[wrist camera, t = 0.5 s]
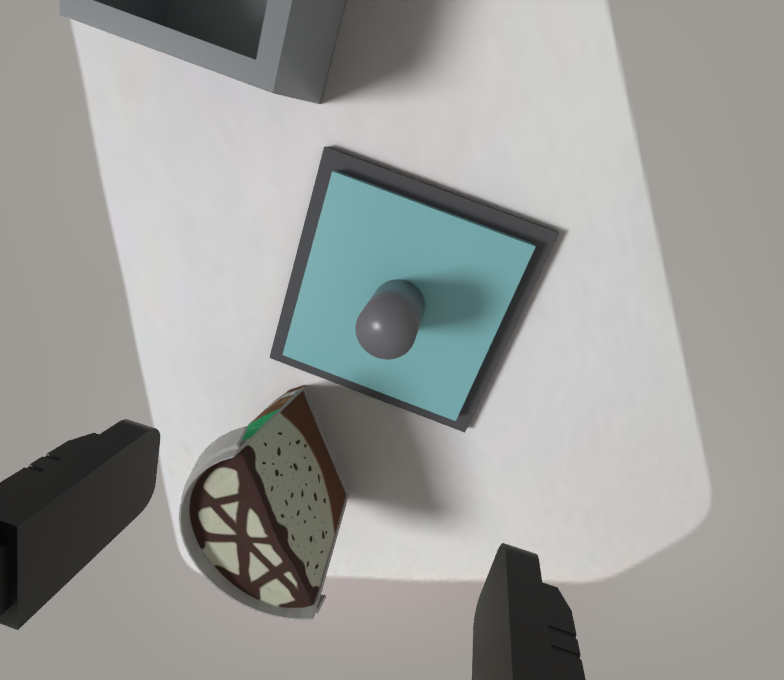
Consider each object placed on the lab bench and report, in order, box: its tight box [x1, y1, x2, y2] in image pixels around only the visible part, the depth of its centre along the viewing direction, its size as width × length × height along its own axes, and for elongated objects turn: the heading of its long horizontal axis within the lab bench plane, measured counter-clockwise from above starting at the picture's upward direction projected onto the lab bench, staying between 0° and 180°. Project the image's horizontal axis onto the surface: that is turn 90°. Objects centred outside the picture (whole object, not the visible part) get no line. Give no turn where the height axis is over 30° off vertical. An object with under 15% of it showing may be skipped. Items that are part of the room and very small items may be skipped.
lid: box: [283, 171, 535, 421], centre depth 29 cm, size 12×12×5 cm
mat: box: [270, 147, 559, 432], centre depth 31 cm, size 14×14×1 cm
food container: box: [179, 385, 349, 620], centre depth 33 cm, size 12×6×10 cm, turn 18°
